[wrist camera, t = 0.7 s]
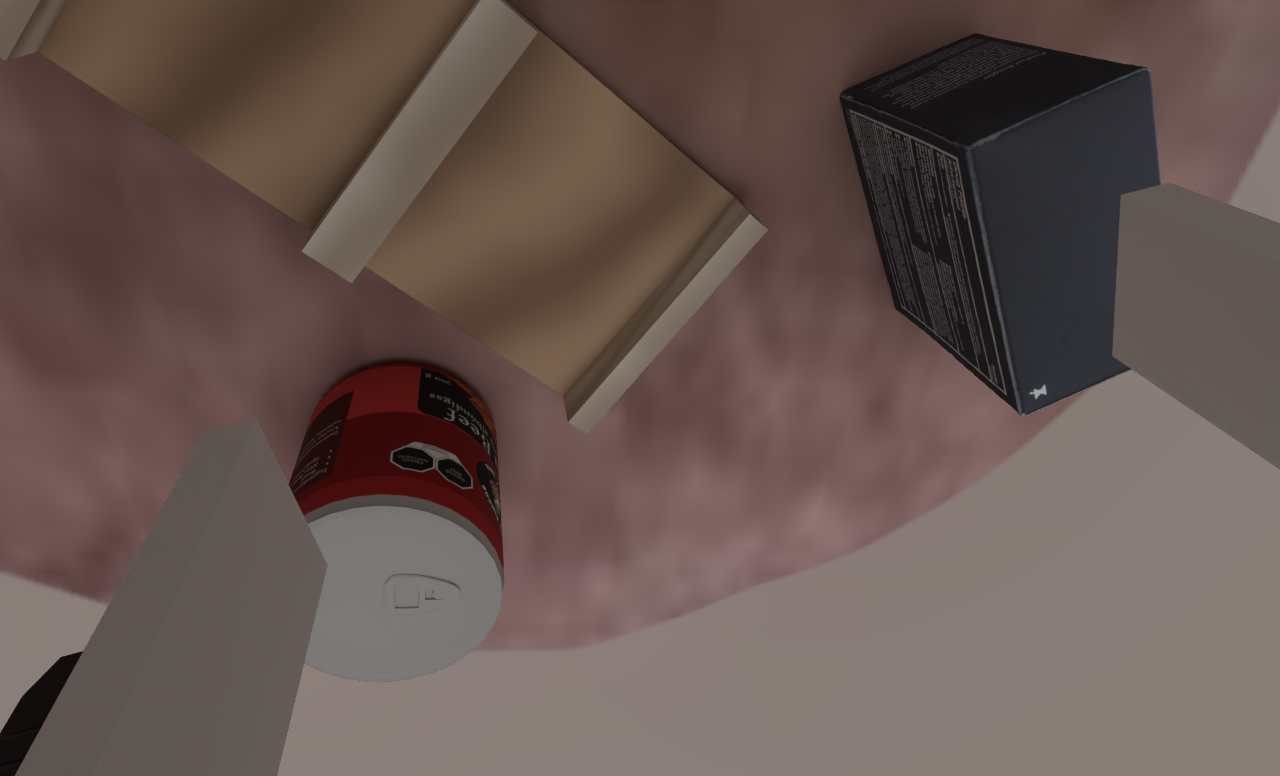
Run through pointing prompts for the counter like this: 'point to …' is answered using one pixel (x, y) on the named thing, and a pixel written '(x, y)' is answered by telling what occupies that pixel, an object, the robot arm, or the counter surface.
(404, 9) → the notched rail
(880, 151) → the small box
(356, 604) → the canned food
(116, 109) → the counter surface
